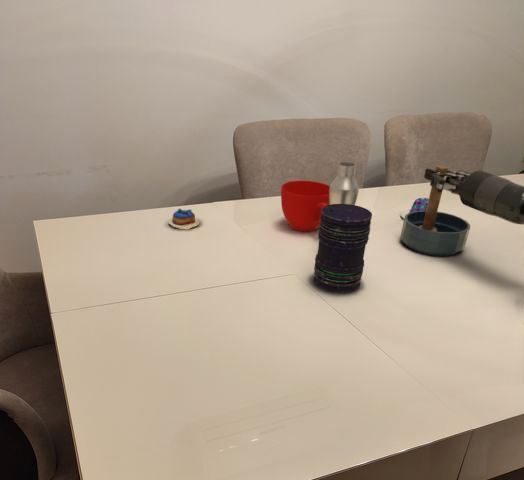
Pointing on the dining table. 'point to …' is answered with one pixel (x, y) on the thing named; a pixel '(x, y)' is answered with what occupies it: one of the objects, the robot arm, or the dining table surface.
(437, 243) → the bowl
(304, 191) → the ceramic cup
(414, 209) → the purple patterned hat
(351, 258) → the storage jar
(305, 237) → the dining table surface
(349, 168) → the silver bottle
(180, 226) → the dessert
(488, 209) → the robot arm
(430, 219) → the stirring stick
